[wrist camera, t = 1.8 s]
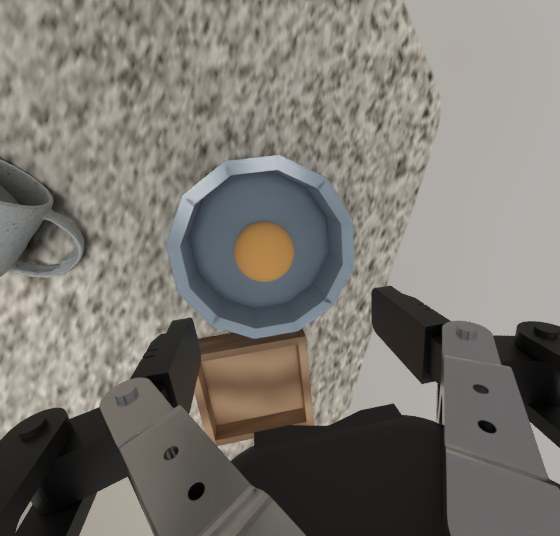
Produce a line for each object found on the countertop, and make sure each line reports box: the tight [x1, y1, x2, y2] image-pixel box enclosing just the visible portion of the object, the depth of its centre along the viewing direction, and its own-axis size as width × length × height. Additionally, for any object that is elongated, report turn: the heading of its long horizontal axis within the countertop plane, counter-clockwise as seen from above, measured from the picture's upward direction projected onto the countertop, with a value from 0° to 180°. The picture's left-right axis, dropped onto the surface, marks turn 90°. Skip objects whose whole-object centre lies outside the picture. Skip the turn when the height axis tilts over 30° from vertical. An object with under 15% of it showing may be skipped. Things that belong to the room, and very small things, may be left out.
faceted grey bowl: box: [166, 155, 354, 339], centre depth 24 cm, size 15×15×5 cm
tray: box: [194, 329, 314, 446], centre depth 30 cm, size 12×12×3 cm
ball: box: [234, 222, 294, 282], centre depth 23 cm, size 5×5×5 cm
